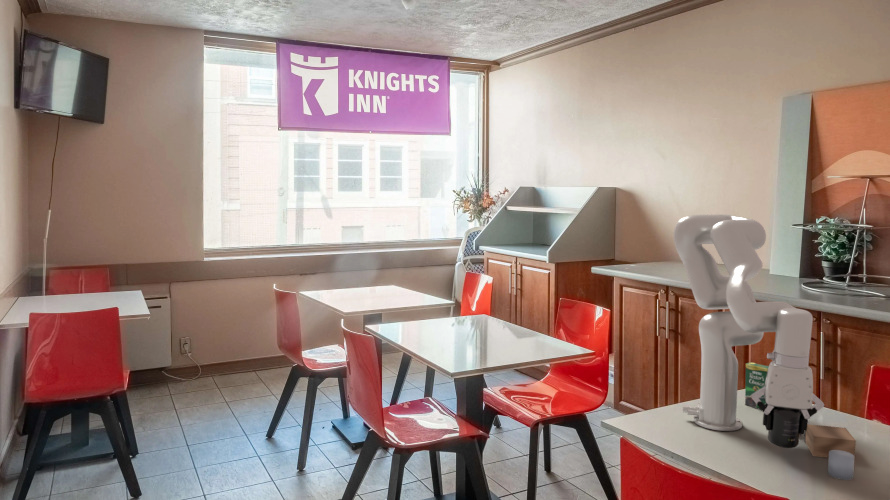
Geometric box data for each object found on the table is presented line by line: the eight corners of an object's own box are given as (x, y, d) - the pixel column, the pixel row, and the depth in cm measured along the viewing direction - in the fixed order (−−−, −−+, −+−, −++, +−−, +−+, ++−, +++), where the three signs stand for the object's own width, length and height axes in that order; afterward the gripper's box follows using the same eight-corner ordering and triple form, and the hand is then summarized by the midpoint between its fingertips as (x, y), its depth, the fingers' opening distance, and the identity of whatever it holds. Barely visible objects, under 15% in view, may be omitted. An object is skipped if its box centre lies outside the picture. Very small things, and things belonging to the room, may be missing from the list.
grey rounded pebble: (830, 478, 152) (831, 457, 152) (825, 469, 157) (826, 448, 156) (855, 481, 151) (857, 459, 150) (849, 472, 155) (850, 451, 155)
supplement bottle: (761, 437, 167) (766, 391, 165) (787, 436, 167) (792, 390, 166) (777, 449, 160) (782, 401, 158) (804, 448, 161) (809, 400, 159)
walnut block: (813, 455, 165) (814, 436, 164) (805, 442, 173) (806, 424, 173) (854, 460, 162) (855, 440, 162) (844, 446, 171) (845, 427, 170)
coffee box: (743, 404, 204) (745, 362, 203) (749, 403, 206) (751, 361, 205) (767, 412, 197) (769, 368, 196) (773, 410, 199) (775, 367, 198)
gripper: (753, 360, 160) (747, 431, 162) (835, 368, 154) (827, 441, 157) (749, 351, 167) (743, 420, 169) (827, 359, 162) (820, 429, 164)
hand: (784, 429), depth 163 cm, fingers closed on supplement bottle, 6 cm apart
